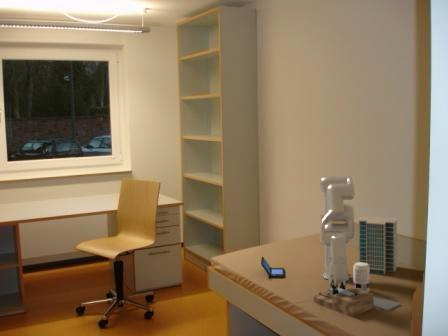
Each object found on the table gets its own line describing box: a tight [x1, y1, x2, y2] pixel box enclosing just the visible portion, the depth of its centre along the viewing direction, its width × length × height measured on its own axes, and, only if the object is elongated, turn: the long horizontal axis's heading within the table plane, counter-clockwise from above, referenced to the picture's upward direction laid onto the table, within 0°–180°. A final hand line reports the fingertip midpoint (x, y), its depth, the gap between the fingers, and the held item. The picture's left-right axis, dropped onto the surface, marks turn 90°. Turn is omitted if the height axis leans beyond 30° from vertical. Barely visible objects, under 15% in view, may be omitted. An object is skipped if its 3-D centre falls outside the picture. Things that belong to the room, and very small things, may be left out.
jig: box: [313, 287, 375, 318], centre depth 238 cm, size 24×16×7 cm, turn 37°
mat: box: [374, 294, 402, 312], centre depth 239 cm, size 11×18×1 cm, turn 37°
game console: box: [260, 256, 286, 279], centre depth 287 cm, size 16×14×9 cm
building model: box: [358, 216, 398, 275], centre depth 287 cm, size 20×16×30 cm
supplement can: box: [352, 261, 371, 293], centre depth 254 cm, size 8×8×15 cm
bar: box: [329, 287, 355, 297], centre depth 238 cm, size 12×4×4 cm, turn 37°
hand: (339, 295), depth 240 cm, fingers closed on bar, 4 cm apart
